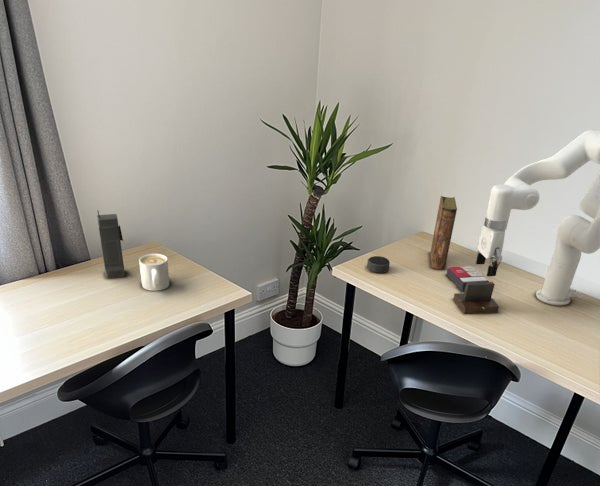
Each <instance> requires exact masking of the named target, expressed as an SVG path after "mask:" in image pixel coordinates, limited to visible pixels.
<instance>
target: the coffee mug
mask: <svg viewBox="0 0 600 486" xmlns="http://www.w3.org/2000/svg"><path fill="white" fill-rule="evenodd" d="M138 264H139V271H140V279H141V286H142V288H143V289H144V290H148V291H151V292H153V291H154V292H156V291H164V290H165V289H167V288H169V287H170V274H169V263H168V257H167V256H166V255H164V254H161V253H147V254H145V255H142V256H140V257H139V258H138Z"/></svg>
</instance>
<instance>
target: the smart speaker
mask: <svg viewBox="0 0 600 486" xmlns="http://www.w3.org/2000/svg"><path fill="white" fill-rule="evenodd" d="M390 264H391V263H390V260H389V259H388V258H386V257H384V256H380V255H379V256H378V255H374V256H371V257H369V258H367V263H366V268H367V269H368V270H369V271H370V272H371V273H377V274H384V273H386V272H388V271H389V270H390Z"/></svg>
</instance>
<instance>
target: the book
mask: <svg viewBox="0 0 600 486" xmlns="http://www.w3.org/2000/svg"><path fill="white" fill-rule="evenodd" d="M457 206H458V205H457V202H456V197H455V196H453V197H449V196H448V197H447V196H443V195H441V196H440V199H439V204H438V210H437V215H436V220H435V226H434V231H433V237H432V241H431V247H430V253H429V256H430V268H431V269H433V270H435V271H444V270H445V269H446V265H447V260H448V256H449V255H448V254H449V250H450V245H451V241H452V236H453V232H454V225H455V221H456V218H457V217H456V216H457V212H458V207H457Z"/></svg>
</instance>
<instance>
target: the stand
mask: <svg viewBox="0 0 600 486" xmlns="http://www.w3.org/2000/svg"><path fill="white" fill-rule="evenodd" d="M463 296H464V292H461V293H457V292H456V293H454V294H453V299H452V300H453V302H454V303H455V304H456V305H457V306H458V308H459V309H460V310H461V312H462V313H463V314H465V315H466V314H467V315H468V314H492V313H494V314H495V313H496V314H497V313H499V310H500V305H499V304H498V303H497V302H496V301H495V298H493V297H491V300H490V301H464V300H463Z"/></svg>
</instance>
